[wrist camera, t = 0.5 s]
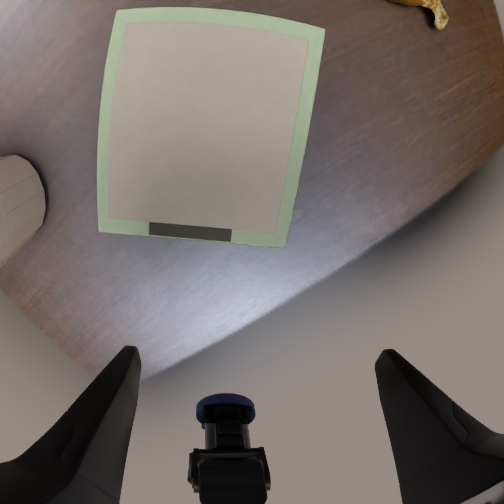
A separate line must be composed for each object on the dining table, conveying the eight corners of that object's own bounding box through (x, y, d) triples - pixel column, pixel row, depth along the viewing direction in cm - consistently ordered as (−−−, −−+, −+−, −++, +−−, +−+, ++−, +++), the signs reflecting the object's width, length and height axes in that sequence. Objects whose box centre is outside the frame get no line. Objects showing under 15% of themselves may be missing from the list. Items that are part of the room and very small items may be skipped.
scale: (278, 234, 20) (287, 253, 18) (109, 219, 19) (94, 236, 16) (314, 36, 14) (329, 26, 12) (127, 19, 12) (113, 6, 10)
